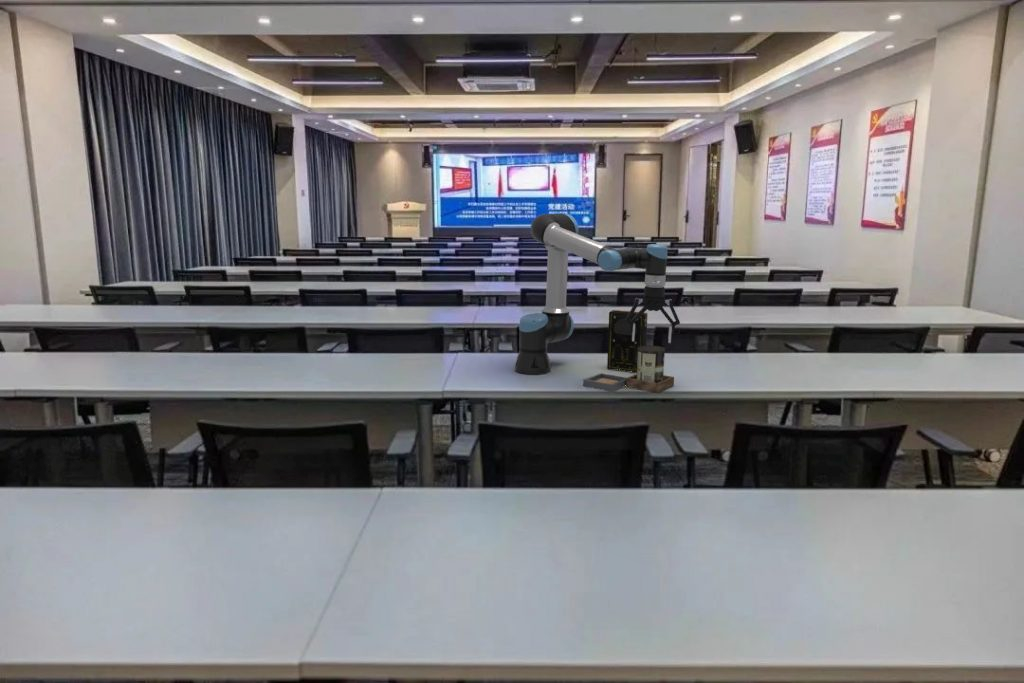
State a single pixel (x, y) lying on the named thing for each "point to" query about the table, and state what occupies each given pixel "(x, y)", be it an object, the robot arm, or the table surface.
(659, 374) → the coffee can
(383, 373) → the table surface
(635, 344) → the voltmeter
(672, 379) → the walnut tray
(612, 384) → the checker cradle
